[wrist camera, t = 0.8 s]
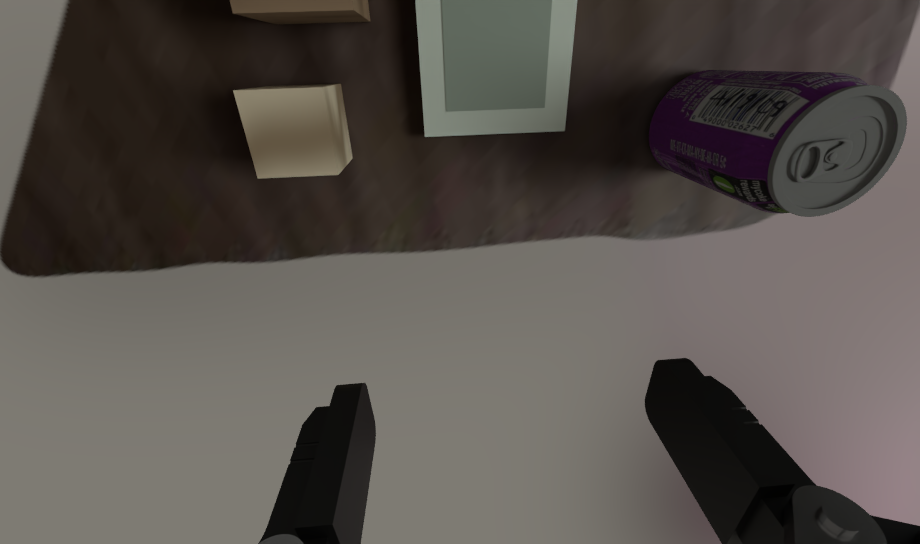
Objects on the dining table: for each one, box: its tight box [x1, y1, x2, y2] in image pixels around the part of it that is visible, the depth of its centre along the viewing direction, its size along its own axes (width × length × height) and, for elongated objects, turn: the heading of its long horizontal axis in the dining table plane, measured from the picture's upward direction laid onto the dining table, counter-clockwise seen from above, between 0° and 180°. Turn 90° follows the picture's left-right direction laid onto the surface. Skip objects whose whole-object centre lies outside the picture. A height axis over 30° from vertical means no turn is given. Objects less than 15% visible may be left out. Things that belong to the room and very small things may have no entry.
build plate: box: [415, 0, 577, 137], centre depth 25 cm, size 10×10×1 cm
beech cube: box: [233, 84, 352, 179], centre depth 25 cm, size 5×5×5 cm
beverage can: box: [649, 70, 907, 217], centre depth 24 cm, size 7×7×12 cm
